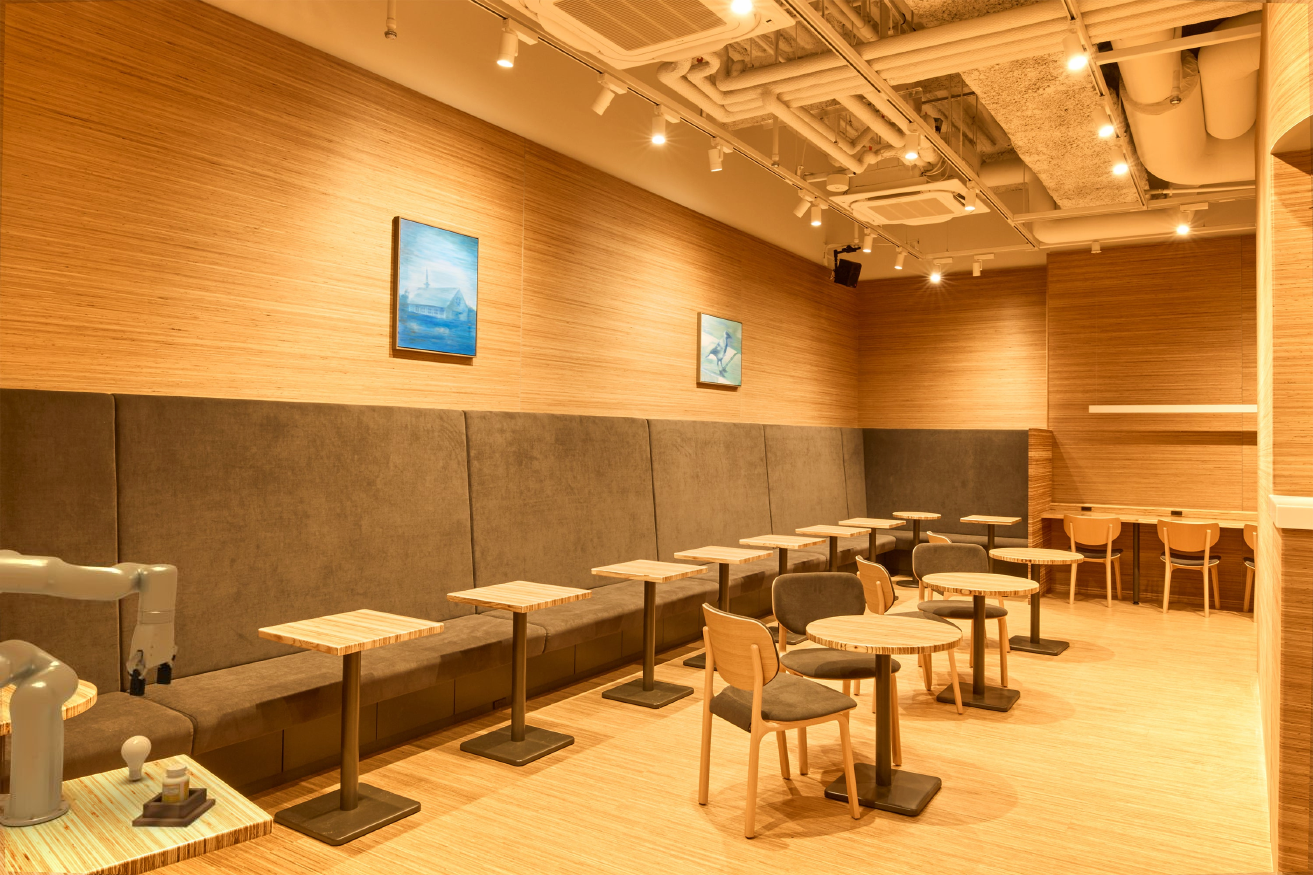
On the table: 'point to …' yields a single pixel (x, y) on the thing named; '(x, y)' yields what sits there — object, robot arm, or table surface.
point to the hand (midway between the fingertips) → (150, 689)
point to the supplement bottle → (175, 784)
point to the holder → (174, 810)
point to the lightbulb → (135, 755)
